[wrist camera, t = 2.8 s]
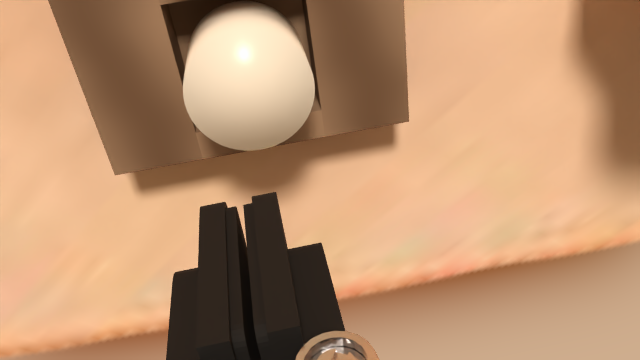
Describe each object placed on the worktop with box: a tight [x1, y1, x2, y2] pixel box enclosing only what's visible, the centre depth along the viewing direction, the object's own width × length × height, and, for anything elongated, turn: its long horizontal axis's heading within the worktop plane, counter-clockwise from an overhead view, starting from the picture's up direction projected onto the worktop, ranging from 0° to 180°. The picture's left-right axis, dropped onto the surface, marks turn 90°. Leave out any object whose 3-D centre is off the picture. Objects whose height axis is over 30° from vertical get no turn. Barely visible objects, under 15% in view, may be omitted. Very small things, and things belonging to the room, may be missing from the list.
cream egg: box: [183, 1, 315, 151], centre depth 21 cm, size 5×5×4 cm
